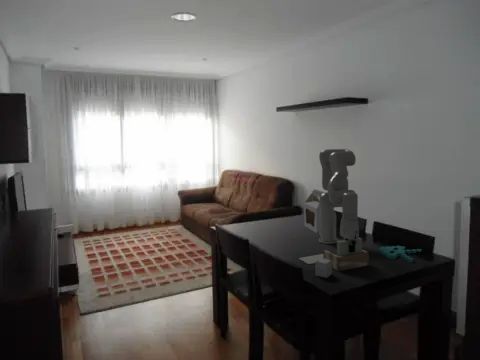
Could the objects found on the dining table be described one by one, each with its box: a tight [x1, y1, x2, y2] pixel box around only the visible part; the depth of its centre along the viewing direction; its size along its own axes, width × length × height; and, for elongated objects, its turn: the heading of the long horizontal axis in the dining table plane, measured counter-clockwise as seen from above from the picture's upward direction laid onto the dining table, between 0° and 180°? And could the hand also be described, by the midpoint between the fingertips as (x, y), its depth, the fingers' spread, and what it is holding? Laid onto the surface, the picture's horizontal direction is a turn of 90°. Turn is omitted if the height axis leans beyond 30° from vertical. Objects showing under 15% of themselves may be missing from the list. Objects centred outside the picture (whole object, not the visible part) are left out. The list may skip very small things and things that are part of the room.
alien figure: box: [377, 245, 423, 263], centre depth 209 cm, size 20×2×20 cm
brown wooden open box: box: [322, 249, 370, 272], centre depth 196 cm, size 13×19×7 cm
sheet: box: [336, 237, 363, 257], centre depth 193 cm, size 2×14×14 cm, turn 112°
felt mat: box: [298, 253, 323, 265], centre depth 204 cm, size 10×16×1 cm, turn 112°
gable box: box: [303, 188, 335, 234], centre depth 266 cm, size 22×13×28 cm, turn 14°
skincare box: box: [314, 258, 333, 279], centre depth 182 cm, size 6×6×7 cm
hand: (349, 250), depth 192 cm, fingers open, 3 cm apart
